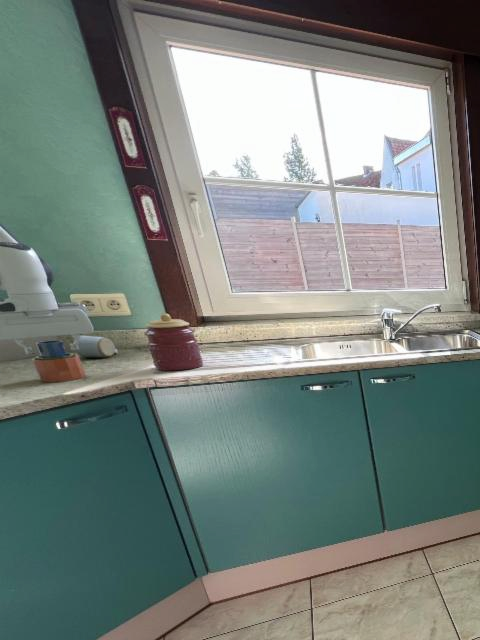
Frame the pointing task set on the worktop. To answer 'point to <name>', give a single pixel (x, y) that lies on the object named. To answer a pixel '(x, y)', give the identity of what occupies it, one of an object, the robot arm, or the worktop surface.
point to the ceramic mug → (95, 347)
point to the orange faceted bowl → (59, 368)
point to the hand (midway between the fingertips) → (53, 351)
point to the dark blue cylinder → (51, 349)
